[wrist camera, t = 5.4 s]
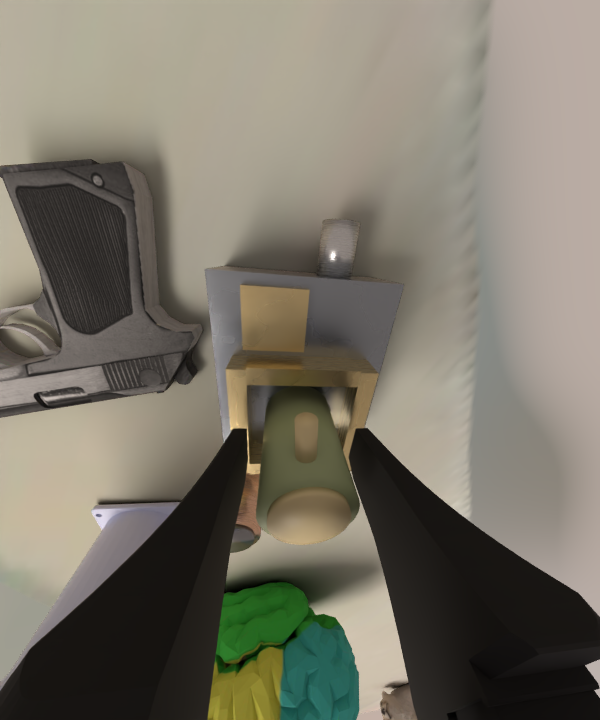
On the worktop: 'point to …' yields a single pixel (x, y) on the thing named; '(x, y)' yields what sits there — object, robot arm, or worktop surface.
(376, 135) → the worktop surface
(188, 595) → the robot arm
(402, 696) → the animal model
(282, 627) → the brain model
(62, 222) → the handgun
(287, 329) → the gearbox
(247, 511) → the copper can
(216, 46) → the worktop surface
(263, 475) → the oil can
